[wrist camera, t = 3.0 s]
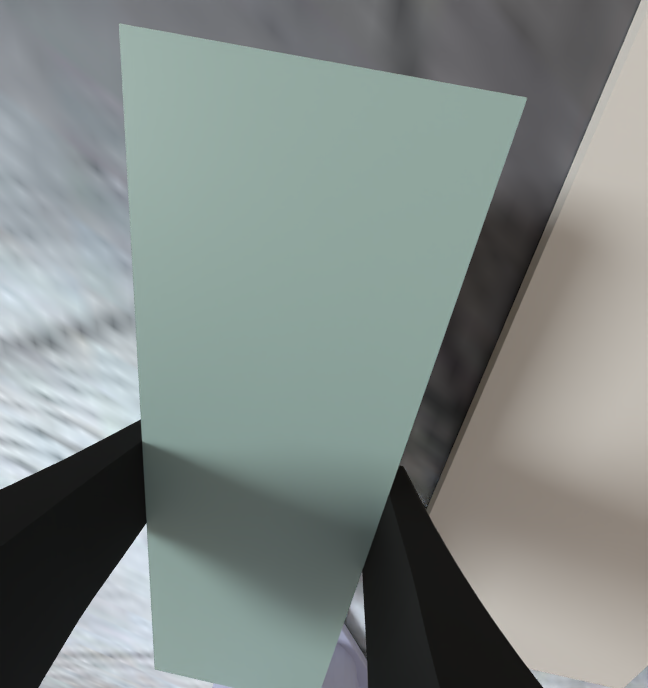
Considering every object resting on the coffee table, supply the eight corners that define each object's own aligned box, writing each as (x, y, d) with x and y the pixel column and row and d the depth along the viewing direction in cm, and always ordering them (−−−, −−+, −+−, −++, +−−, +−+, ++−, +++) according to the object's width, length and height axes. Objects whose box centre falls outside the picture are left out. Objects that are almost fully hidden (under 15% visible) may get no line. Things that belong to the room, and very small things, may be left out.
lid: (320, 648, 13) (314, 706, 11) (178, 615, 13) (154, 669, 11) (485, 125, 6) (526, 97, 4) (178, 69, 6) (118, 22, 4)
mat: (615, 678, 16) (621, 689, 16) (377, 624, 17) (378, 634, 16) (1219, 100, 7) (1269, 94, 6) (641, 0, 7) (656, -12, 7)
